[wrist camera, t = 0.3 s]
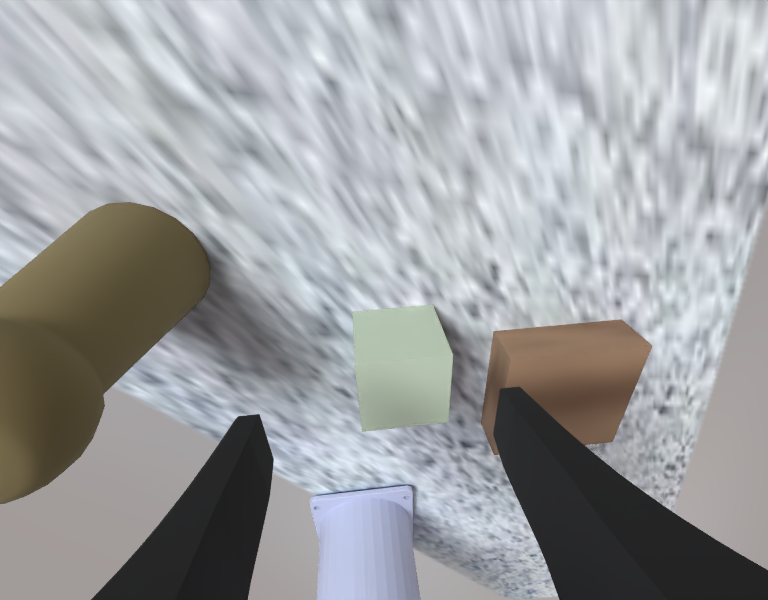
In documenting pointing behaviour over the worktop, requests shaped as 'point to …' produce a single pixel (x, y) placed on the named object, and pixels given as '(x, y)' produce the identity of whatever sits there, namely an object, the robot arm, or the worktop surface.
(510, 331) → the walnut block
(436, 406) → the sage cube
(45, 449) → the cork
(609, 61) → the worktop surface
